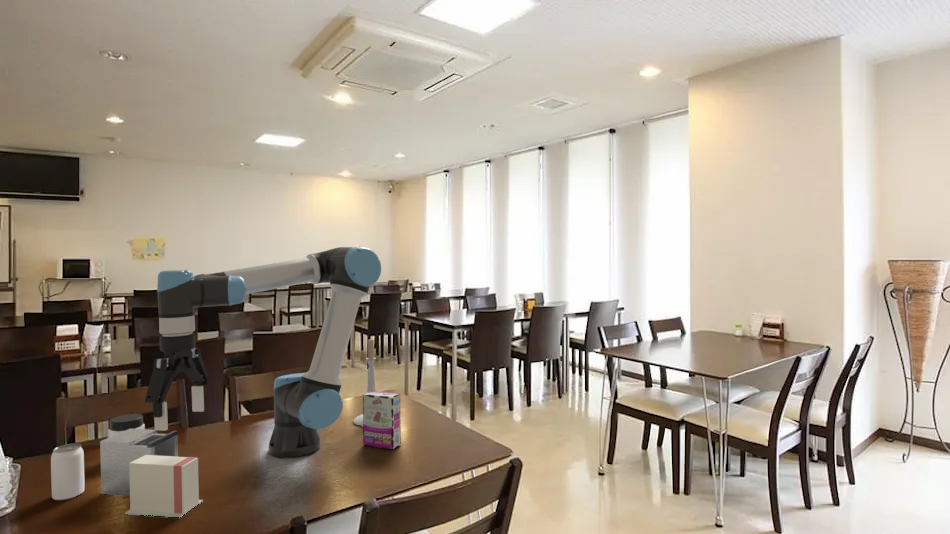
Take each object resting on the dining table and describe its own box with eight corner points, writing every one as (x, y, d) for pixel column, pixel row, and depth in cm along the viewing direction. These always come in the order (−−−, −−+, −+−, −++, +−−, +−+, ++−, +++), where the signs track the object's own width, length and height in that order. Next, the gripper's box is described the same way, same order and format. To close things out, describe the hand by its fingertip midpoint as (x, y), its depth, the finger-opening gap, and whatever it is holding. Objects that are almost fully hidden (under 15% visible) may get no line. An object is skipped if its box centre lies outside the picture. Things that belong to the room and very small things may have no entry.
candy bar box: (401, 445, 162) (401, 393, 162) (393, 450, 158) (392, 397, 157) (371, 440, 166) (370, 390, 166) (362, 445, 162) (362, 393, 161)
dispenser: (101, 494, 130) (100, 441, 129) (131, 478, 139) (129, 428, 139) (151, 497, 128) (150, 443, 127) (178, 480, 137) (177, 430, 137)
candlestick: (384, 427, 178) (384, 341, 178) (348, 427, 179) (347, 341, 178) (392, 416, 191) (392, 335, 190) (359, 415, 192) (358, 335, 191)
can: (63, 489, 132) (62, 443, 132) (90, 488, 133) (89, 442, 133) (45, 501, 126) (43, 453, 126) (73, 500, 126) (72, 452, 126)
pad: (203, 501, 126) (203, 499, 126) (180, 518, 118) (180, 516, 118) (150, 498, 127) (150, 496, 127) (124, 514, 120) (124, 512, 120)
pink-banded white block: (199, 502, 124) (198, 457, 124) (184, 513, 119) (183, 466, 119) (146, 499, 126) (145, 454, 126) (130, 509, 121) (129, 462, 121)
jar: (108, 466, 147) (107, 424, 146) (109, 456, 154) (108, 417, 153) (145, 459, 152) (144, 418, 151) (145, 450, 158) (144, 411, 158)
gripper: (195, 325, 138) (198, 404, 138) (123, 343, 113) (127, 438, 114) (222, 325, 137) (224, 404, 138) (155, 343, 112) (159, 439, 113)
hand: (180, 420), depth 126 cm, fingers open, 13 cm apart
